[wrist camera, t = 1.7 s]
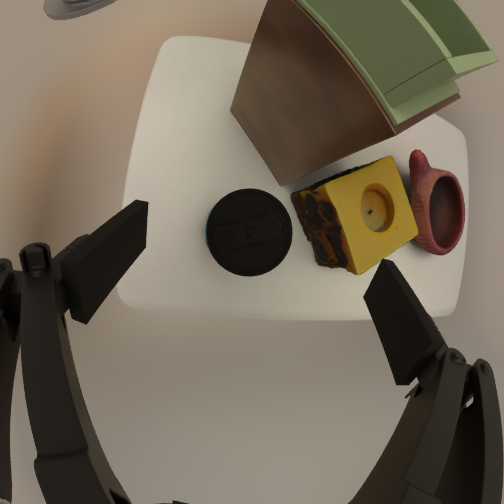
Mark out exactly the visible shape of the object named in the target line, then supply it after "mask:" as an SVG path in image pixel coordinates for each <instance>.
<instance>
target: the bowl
mask: <svg viewBox="0 0 504 504" xmlns="http://www.w3.org/2000/svg"><path fill="white" fill-rule="evenodd" d="M409 168H410V181H411V192H410V200H409V204H410V207H411V209H412V212H413V216H414V219H415V222H416V225H417V229H418V235H417V236H415V237H414V238H415V240H416V241H417V243H418V244H419V245H420V246H421V247H422V248H423V249H425V250H426V251H428V252H430V253H432V254H435V255H446V253H449V252H451V250H452V249H453V248H455V246H456V245H457V243H458V241H459V240H460V237H461V235H462V233H463V228H464V222H465V204H464V198H463V193H462V189H461V186H460V184H459V182H458V180H457V178H456V177H455V175H453V174H452V173H451V172H449V171H445V170H440V169H436V168H432V167H430V165H429V163H428V161H427V158H426V156H425V154H424V153H422V152H421V151H420V150H414V151H413V152H412V153H411V155H410V159H409Z"/></svg>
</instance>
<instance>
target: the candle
mask: <svg viewBox="0 0 504 504" xmlns="http://www.w3.org/2000/svg"><path fill="white" fill-rule="evenodd" d="M291 201H292V203H293V205H294V207H295V210H296V212H297V215H298V217H299V221H300V223H301V225H302V227H303V230H304V233H305V235H306V236H307V240H308V241H311V242H312V245H313V249H314V253H315V258H316V262H317V263H318V265H320V266H325V267H326V266H327V267H330V268H340V267H341V268H344V269H346V270H347V271H348V272H352V273H353V274H355V275H361V274H362V273H364V272H366V271H367V270H368V269H370V268H371V267H373V266H374V265H375V264H377V263H378V262H380V261H381V260H382V258H383V259H384V258H385V257H387V256H388V255H389V254H391V253H392V252H394V251H395V250H396V249H398V248H399V247H401V246H402V245H404V244H405V243H407V242H408V241H409V240H411V239H413V238H414V237H415V236H417V235H418V229H417V225H416V222H415V219H414V216H413V212H412V209H411V207H410V204H409V201H408V198H407V195H406V192H405V189H404V186H403V183H402V180H401V177H400V175H399V172H398V170H397V167H396V164H395V162H394V159H393V157H392V156H387V157H384V158H381V159H379V160H376V161H374V162H371V163H370V164H366V165H362V166H360V167H354V168H352V169H347V170H346V171H344V172H341V173H339V174H336V175H334V176H332V177H329V178H327V179H324V180H322V181H319V182H318V183H315V184H314V185H312V186H310V187H308V188H305V189H303V190H301V191H297V192H293V193H292V194H291Z"/></svg>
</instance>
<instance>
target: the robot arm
mask: <svg viewBox="0 0 504 504" xmlns="http://www.w3.org/2000/svg"><path fill="white" fill-rule="evenodd" d="M63 1H65V2H73V1H78V0H63ZM148 204H149V202H145V201H140V200H135V201H133V202H132V203H131V204H129V205H128V206H127V207H125V208H124V209H123V210H121V211H120V212H119V213H117V214H116V215H115V216H113V217H112V218H111V219H109V220H108V221H107V222H106V223H104V224H103V225H102V226H100V227H99V228H98V229H97V230H96V231H94V232H93V233H92V234H90V235H88V234H85V235H83V236H80V237H78V238H76V239H75V240H74V241H73V242H72V243H71V244H70V245H68V246H67V247H66V248H65V249H63V250H62V251H61V252H60V253H58V254H57V255H56V256H55V257H54V258H53V259H52V258H51V251H50V247H49V246H48V245H47V244H46V243H41V242H40V243H32V244H29V245H27V246H25V247H24V248H23V249H22V250H21V251H20V253H19V257H20V261H21V265H22V269H23V271H17V270H13V267H12V263H11V261H10V260H8V259H5V258H2V259H0V504H11V501H12V478H11V461H10V416H11V402H12V391H13V383H14V377H15V370H16V364H17V358H18V353H19V348H20V344H21V361H22V373H23V383H24V390H25V398H26V404H27V409H28V415H29V420H30V425H31V429H32V434H33V438H34V442H35V446H36V449H37V458H36V459H35V460H34V469H35V473H36V477H37V480H38V483H39V485H40V488H41V491H42V493H43V496H44V498H45V501H46V503H47V504H132V503H131V501H130V499H129V498H128V496H127V494H126V493H125V491H124V490H123V488H122V486H121V484H120V483H119V481H118V479H117V478H116V476H115V475H114V473H113V471H112V469H111V467H110V465H109V463H108V461H107V459H106V457H105V454H104V452H103V450H102V447H101V445H100V443H99V440H98V438H97V435H96V433H95V430H94V428H93V425H92V422H91V419H90V416H89V413H88V410H87V407H86V404H85V401H84V398H83V395H82V391H81V388H80V384H79V381H78V377H77V373H76V369H75V365H74V361H73V357H72V351H71V347H70V342H69V337H68V331H67V325H66V320H65V316H64V314H65V312H66V311H67V310H68V309H69V310H70V314H71V317H72V319H74V320H76V321H79V322H81V323H84V324H86V325H87V323H88V322H89V320H90V319H91V318H92V316H93V315H94V313H95V312H96V311H97V309H98V308H99V306H100V305H101V304H102V302H103V301H104V300H105V298H106V297H107V296H108V294H109V293H110V292H111V290H112V289H113V288H114V286H115V285H116V284H117V283H118V281H119V280H120V279H121V278H122V276H123V275H124V274H125V272H126V271H127V270H128V269H129V267H130V266H131V265H132V264H133V262H134V261H135V260H136V259H137V258H138V256H139V255H140V254H141V253H142V252H143V250H144V249H145V248H146V234H147V217H148ZM363 298H364V300H365V302H366V305H367V307H368V310H369V312H370V314H371V317H372V319H373V322H374V324H375V327H376V330H377V332H378V334H379V337H380V340H381V343H382V345H383V348H384V351H385V354H386V356H387V359H388V362H389V365H390V368H391V371H392V374H393V377H394V379H395V382H396V385H409V384H410V383H411V382H412V381H413V380H414V379H415V378H416V377H417V379H418V381H419V383H418V384H417V385H416V386H415V387H414V388H413V389H412V390H411V391H410V392H409V393H408V394H407V395H406V396H405V398H407V397H408V396H410V399H409V401H408V403H407V406H406V408H405V410H404V412H403V415H402V417H401V419H400V421H399V423H398V425H397V427H396V429H395V431H394V433H393V435H392V437H391V439H390V440H389V443H388V444H387V446H386V448H385V450H384V451H383V453H382V455H381V457H380V458H379V460H378V462H377V464H376V465H375V467H374V468H373V470H372V471H371V473H370V475H369V476H368V478H367V479H366V481H365V482H364V484H363V485H362V487H361V488H360V490H359V491H358V492H357V494H356V495H355V496H354V498H353V499H352V500H351V501H350V502H349V503H348V504H501V499H502V487H503V439H502V438H503V437H502V425H501V416H500V409H499V402H498V396H497V390H496V385H495V379H494V375H493V371H492V368H491V367H490V364H489V363H488V362H487V361H485V360H483V359H477V361H476V362H475V363H474V364H473V365H469V364H466V360H465V358H464V356H463V355H462V354H461V353H460V352H459V351H458V350H456V349H454V348H448V346H447V344H446V342H445V341H444V339H443V337H442V335H441V333H440V332H439V331H438V328H437V326H436V325H435V323H434V321H433V320H432V318H431V316H430V315H429V314H428V313H427V312H426V311H425V309H424V307H423V306H422V304H421V303H420V301H419V299H418V298H417V296H416V295H415V293H414V292H413V290H412V288H411V287H410V285H409V284H408V282H407V281H406V279H405V278H404V276H403V275H402V274H401V272H400V271H399V269H398V268H397V266H396V265H395V263H394V262H393V261H390V260H387V259H383V258H382V261H381V263H380V265H379V267H378V269H377V271H376V273H375V275H374V277H373V279H372V281H371V283H370V285H369V287H368V289H367V291H366V293H365V294H364V296H363ZM472 397H473V403H472V404H471V405H470V406H469V407H466V403H467V402H468V401H469V400H470V399H471V398H472ZM160 504H167V503H160ZM172 504H187V503H182V502H178V501H174V500H173V503H172Z"/></svg>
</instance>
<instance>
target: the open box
mask: <svg viewBox="0 0 504 504" xmlns="http://www.w3.org/2000/svg"><path fill="white" fill-rule="evenodd" d="M296 1H297V2H298V3H299V4H300V5H301V6H302V7H303V8H304V9H305V10H306V11H307V12H308V13H309V14H310V15H311V16H312V17H313V18H314V19H315V20H316V21H317V22H318V23H319V24H320V25H321V26H322V27H323V28H324V29H325V31H326V32H327V33H328V34H329V35H330V36H331V37H332V38H333V40H334V41H335V42H336V43H337V44H338V46H339V47H340V48H341V49H342V50H343V52H344V53H345V54H346V55H347V57H348V58H349V59H350V60H351V62H352V63H353V64H354V66H355V67H356V68H357V70H358V71H359V72H360V74H361V75H362V77H363V78H364V79H365V81H366V82H367V84H368V85H369V87H370V88H371V89H372V91H373V92H374V94H375V95H376V97H377V99H378V100H379V102H380V103H381V105H382V106H383V108H384V110H385V111H386V113H387V114H388V116H389V118H390V120H391V121H392V123H393V125H394V126H395V125H398V124H400V123H401V122H403V121H405V120H407V119H409V118H410V117H412V116H414V115H416V114H418V113H420V112H422V111H423V110H425V109H427V108H429V107H431V106H433V105H435V104H437V103H438V102H440V101H442V100H444V99H446V98H448V97H450V96H452V95H454V94H456V93H458V92H460V89H459V88H458V86H457V84H456V83H455V81H454V80H455V79H458V78H460V77H462V76H464V75H466V74H469V73H471V72H473V71H476V70H478V69H480V68H483V67H485V66H488V65H490V64H492V63H495V62H497V61H499V59H498V58H497V56H496V54H495V53H494V51H493V50H492V48H491V46H490V45H489V43H488V42H487V40H486V39H485V37H484V36H483V34H482V33H481V32H480V30H479V29H478V27H477V26H476V24H475V23H474V22H473V20H472V19H471V18H470V16H469V15H468V14H467V12H466V11H465V10H464V9H463V7H462V6H461V5H460V4H459V3H458V1H457V0H296Z"/></svg>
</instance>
